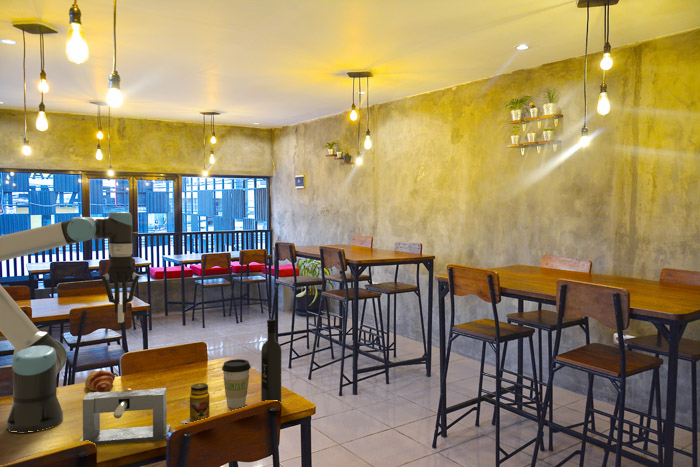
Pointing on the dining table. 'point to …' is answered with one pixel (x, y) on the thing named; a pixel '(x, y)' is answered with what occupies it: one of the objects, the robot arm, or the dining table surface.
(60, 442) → the dining table surface
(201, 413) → the condiment
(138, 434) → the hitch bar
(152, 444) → the dining table surface
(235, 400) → the coffee cup
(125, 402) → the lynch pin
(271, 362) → the wine bottle
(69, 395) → the dining table surface
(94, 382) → the croissant
